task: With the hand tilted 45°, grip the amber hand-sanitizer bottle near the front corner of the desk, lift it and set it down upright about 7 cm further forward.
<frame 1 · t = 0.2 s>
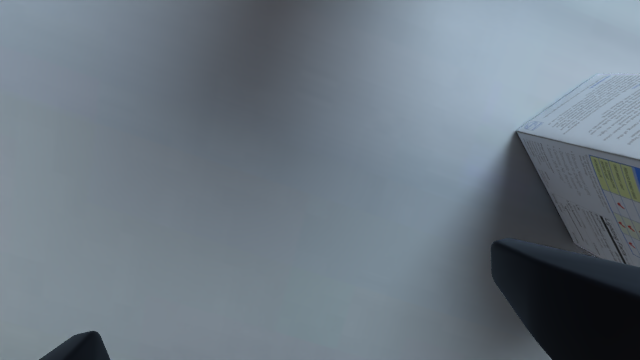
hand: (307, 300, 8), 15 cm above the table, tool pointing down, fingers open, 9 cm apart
light bulb box: (581, 162, 26), on the table
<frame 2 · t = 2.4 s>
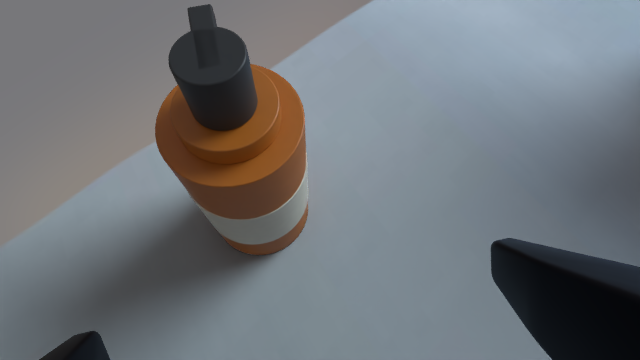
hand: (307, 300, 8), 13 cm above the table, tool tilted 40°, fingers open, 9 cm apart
sanitizer bottle: (262, 209, 24), on the table
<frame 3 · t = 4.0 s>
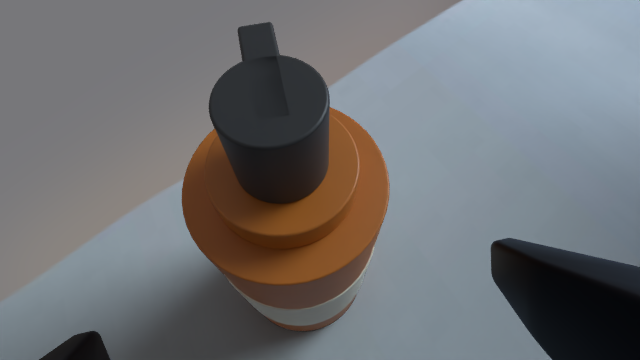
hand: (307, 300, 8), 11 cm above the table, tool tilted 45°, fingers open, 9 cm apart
sanitizer bottle: (304, 271, 19), on the table
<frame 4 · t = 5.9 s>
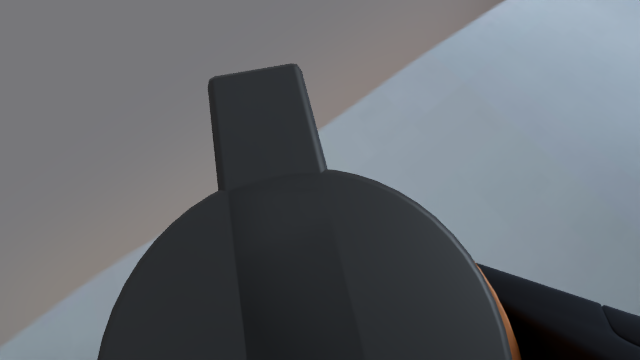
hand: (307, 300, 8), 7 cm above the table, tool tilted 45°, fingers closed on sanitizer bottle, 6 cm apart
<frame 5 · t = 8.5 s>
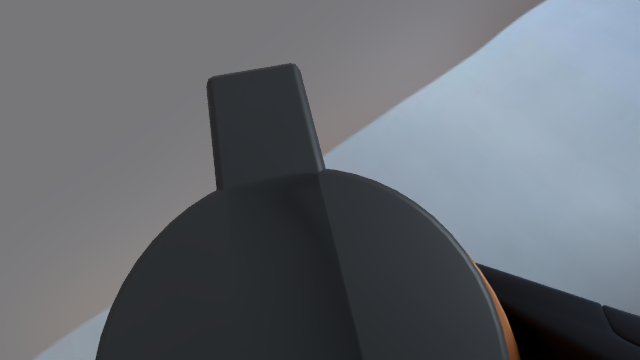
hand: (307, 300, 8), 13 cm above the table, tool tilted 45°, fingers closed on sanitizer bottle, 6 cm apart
when the fingers open (7 cm above the table, at t = 11.2 s): sanitizer bottle stays where it is, on the table.
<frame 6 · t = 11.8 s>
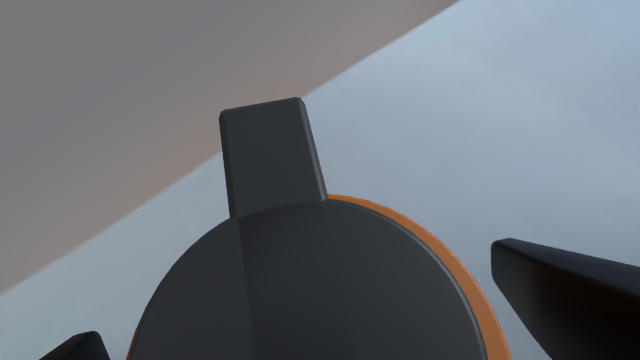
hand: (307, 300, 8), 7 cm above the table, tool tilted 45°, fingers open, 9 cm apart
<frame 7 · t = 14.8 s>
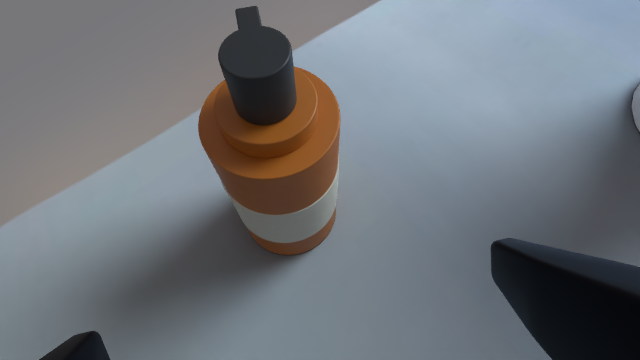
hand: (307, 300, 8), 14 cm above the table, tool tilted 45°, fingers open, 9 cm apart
sanitizer bottle: (290, 211, 24), on the table
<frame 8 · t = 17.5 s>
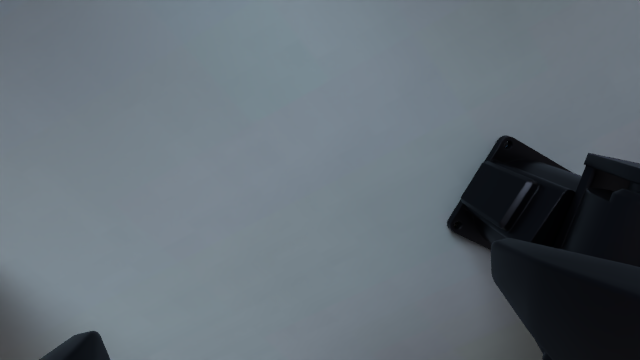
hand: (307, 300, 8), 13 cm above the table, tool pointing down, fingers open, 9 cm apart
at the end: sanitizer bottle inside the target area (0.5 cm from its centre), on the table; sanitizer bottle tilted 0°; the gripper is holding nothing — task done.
